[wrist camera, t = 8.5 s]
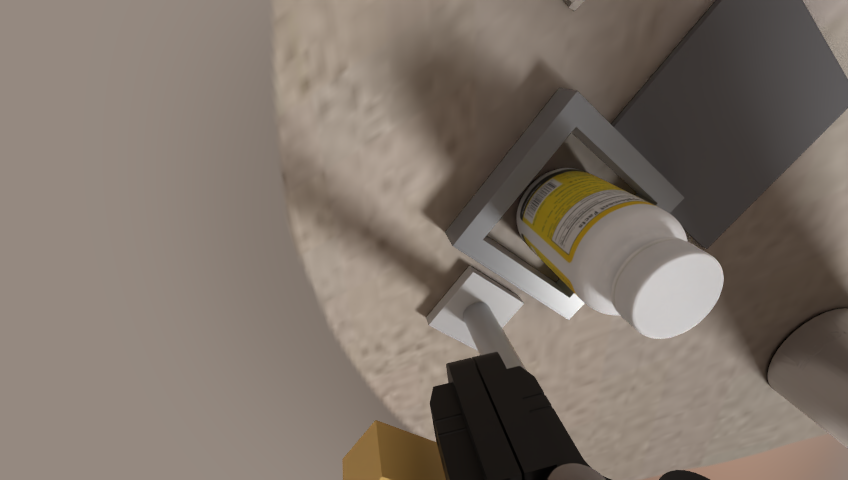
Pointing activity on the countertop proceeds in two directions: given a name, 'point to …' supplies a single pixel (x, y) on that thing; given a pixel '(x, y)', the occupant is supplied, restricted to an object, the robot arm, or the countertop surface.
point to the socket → (474, 292)
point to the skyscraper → (573, 3)
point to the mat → (735, 108)
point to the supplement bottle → (619, 252)
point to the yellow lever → (392, 456)
